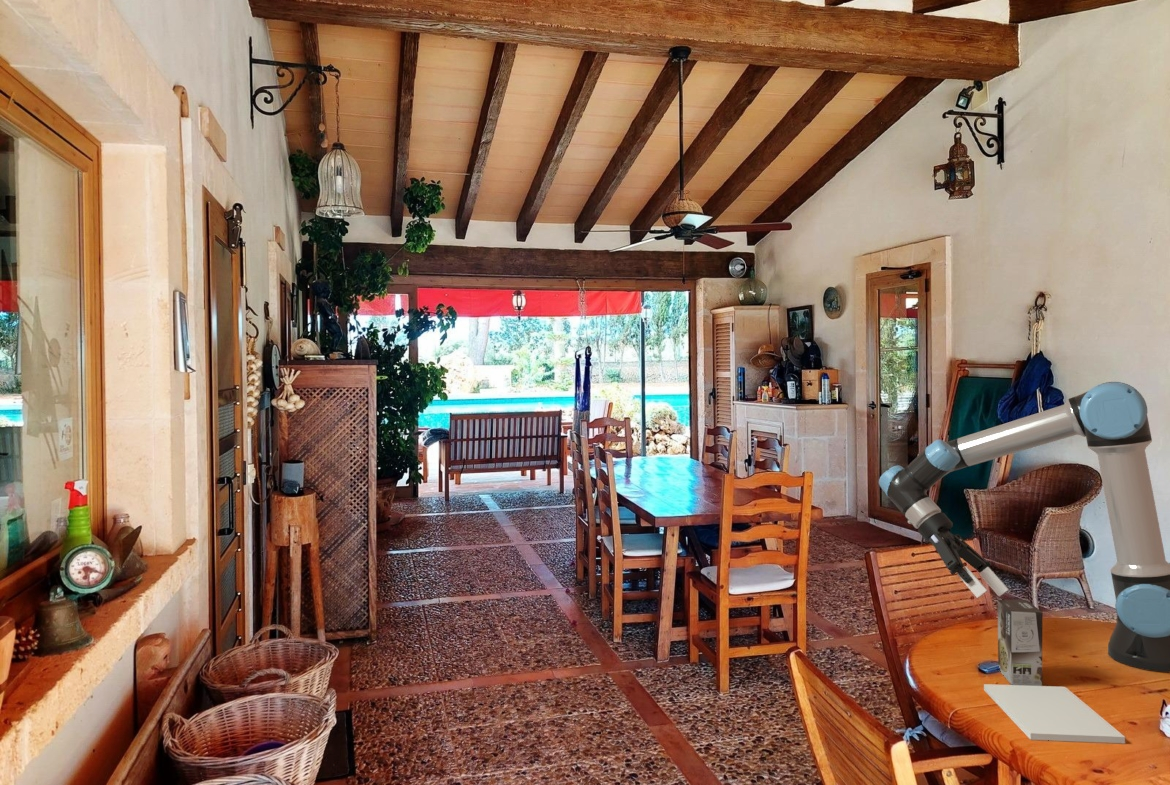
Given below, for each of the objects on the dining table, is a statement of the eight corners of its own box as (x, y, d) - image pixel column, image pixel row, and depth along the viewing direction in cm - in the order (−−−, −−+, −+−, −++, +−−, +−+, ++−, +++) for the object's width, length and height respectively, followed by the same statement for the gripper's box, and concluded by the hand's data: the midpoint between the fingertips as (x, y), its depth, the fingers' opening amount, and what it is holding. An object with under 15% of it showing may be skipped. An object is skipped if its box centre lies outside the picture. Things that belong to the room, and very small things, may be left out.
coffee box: (1044, 687, 163) (1043, 612, 162) (1010, 685, 164) (1010, 611, 164) (1028, 671, 172) (1028, 599, 171) (997, 669, 173) (996, 598, 173)
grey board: (1064, 692, 160) (1064, 686, 160) (1125, 743, 138) (1125, 737, 138) (983, 689, 162) (983, 684, 162) (1030, 739, 141) (1030, 733, 140)
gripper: (938, 532, 198) (1000, 602, 185) (895, 528, 181) (959, 604, 168) (961, 513, 195) (1024, 583, 182) (919, 507, 178) (986, 584, 165)
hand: (993, 593), depth 175 cm, fingers open, 13 cm apart
